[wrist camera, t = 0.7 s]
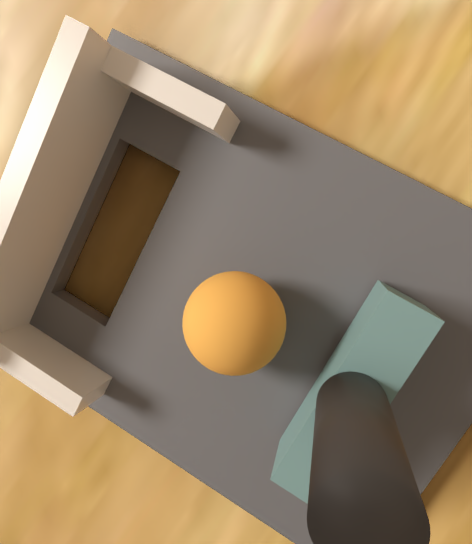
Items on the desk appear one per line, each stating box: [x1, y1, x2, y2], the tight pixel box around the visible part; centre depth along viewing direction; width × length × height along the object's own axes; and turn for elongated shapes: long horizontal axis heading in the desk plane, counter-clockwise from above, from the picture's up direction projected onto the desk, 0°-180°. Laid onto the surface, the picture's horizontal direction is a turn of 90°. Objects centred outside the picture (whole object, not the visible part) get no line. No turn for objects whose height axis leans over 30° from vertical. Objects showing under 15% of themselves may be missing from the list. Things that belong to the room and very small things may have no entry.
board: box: [29, 28, 472, 544], centre depth 19 cm, size 21×16×1 cm
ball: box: [182, 271, 286, 376], centre depth 16 cm, size 4×4×4 cm
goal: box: [0, 15, 240, 417], centre depth 17 cm, size 6×14×4 cm, turn 152°
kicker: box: [270, 280, 445, 544], centre depth 13 cm, size 2×8×9 cm, turn 152°
